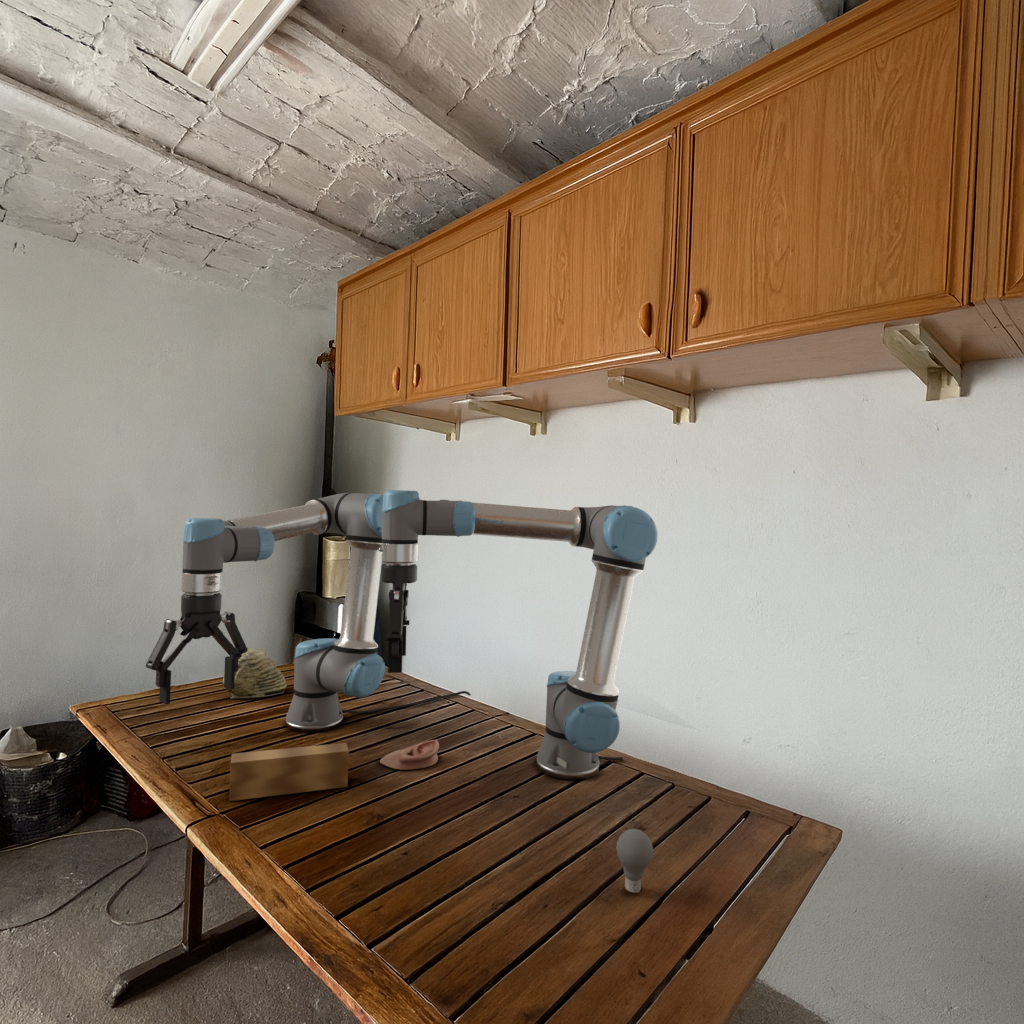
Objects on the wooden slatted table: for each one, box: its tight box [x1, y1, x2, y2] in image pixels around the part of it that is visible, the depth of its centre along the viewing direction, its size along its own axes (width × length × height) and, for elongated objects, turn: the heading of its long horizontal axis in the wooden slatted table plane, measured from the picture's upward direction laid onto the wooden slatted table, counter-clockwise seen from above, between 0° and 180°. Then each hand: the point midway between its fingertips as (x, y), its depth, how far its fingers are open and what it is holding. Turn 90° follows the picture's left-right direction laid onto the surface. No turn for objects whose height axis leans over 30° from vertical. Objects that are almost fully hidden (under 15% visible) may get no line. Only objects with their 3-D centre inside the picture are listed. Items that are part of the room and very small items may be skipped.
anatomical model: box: [379, 739, 440, 771], centre depth 154 cm, size 13×4×12 cm
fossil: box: [222, 647, 288, 699], centre depth 198 cm, size 9×18×15 cm, turn 132°
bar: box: [228, 742, 350, 802], centre depth 137 cm, size 24×5×8 cm, turn 111°
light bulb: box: [615, 828, 654, 894], centre depth 106 cm, size 6×6×10 cm
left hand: (198, 695), depth 131 cm, fingers open, 13 cm apart
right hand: (397, 663), depth 134 cm, fingers open, 13 cm apart
